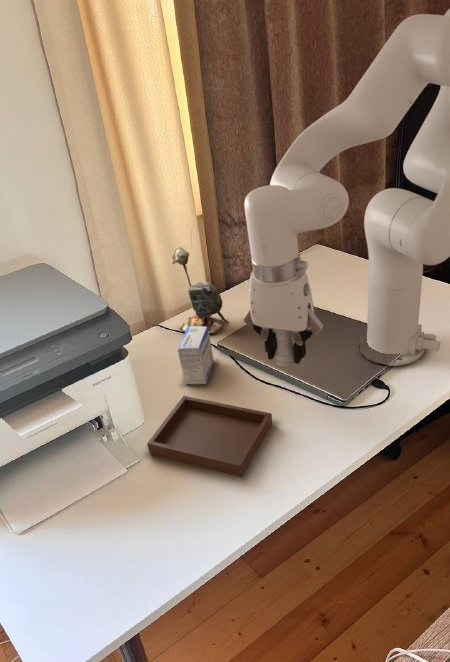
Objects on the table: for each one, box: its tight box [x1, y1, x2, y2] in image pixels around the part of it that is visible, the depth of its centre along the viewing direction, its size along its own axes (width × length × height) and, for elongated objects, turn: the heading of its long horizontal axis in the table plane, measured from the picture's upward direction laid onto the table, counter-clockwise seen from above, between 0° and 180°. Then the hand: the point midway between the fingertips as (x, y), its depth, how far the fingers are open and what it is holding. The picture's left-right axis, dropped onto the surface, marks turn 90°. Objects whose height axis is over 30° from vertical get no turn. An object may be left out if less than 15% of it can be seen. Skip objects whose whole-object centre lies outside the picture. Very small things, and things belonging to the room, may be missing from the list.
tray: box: [146, 395, 274, 478], centre depth 110 cm, size 18×14×3 cm
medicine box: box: [177, 326, 215, 385], centre depth 124 cm, size 8×4×9 cm, turn 168°
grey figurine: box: [171, 246, 230, 334], centre depth 133 cm, size 8×11×20 cm
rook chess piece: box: [273, 329, 296, 368], centre depth 111 cm, size 4×4×8 cm
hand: (286, 356), depth 113 cm, fingers closed on rook chess piece, 4 cm apart
